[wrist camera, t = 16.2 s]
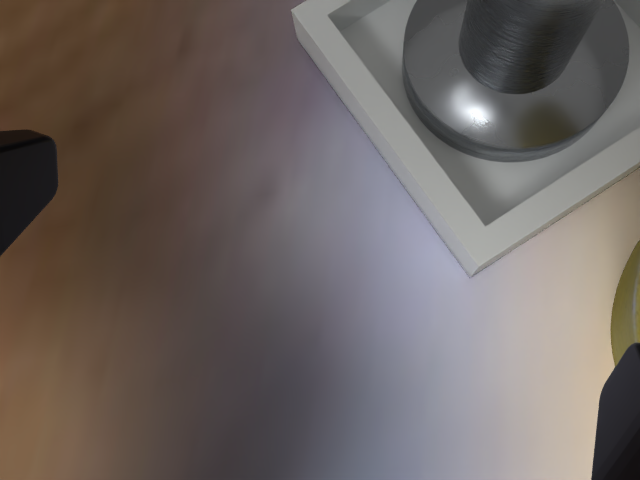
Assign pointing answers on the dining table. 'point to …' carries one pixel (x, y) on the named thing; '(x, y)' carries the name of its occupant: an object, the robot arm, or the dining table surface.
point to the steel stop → (513, 72)
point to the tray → (450, 164)
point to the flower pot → (626, 308)
